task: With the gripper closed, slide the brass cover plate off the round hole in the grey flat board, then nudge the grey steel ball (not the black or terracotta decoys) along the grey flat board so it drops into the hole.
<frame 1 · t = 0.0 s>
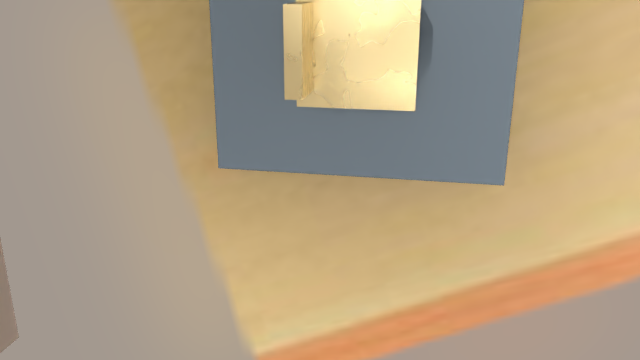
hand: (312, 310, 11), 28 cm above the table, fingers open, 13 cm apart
brass cover: (353, 50, 33), point 5 cm above the table, slide at 0.0 cm
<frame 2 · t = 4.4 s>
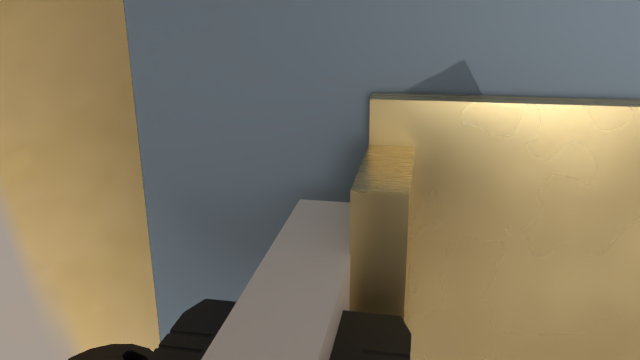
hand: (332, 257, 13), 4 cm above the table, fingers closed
brass cover: (532, 284, 12), point 5 cm above the table, slide at 0.4 cm, touching gripper
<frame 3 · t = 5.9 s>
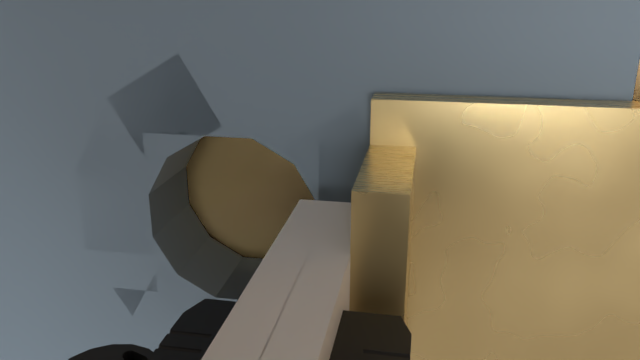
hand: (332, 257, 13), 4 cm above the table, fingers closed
brass cover: (532, 285, 12), point 5 cm above the table, slide at 7.1 cm, touching gripper
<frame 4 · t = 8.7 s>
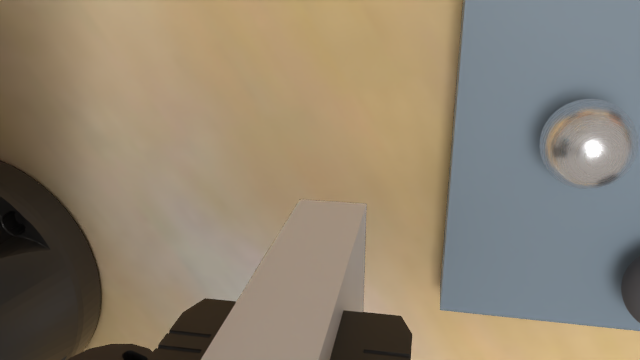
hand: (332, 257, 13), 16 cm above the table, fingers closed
steel ball: (587, 144, 23), point 4 cm above the table, touching grey flat board
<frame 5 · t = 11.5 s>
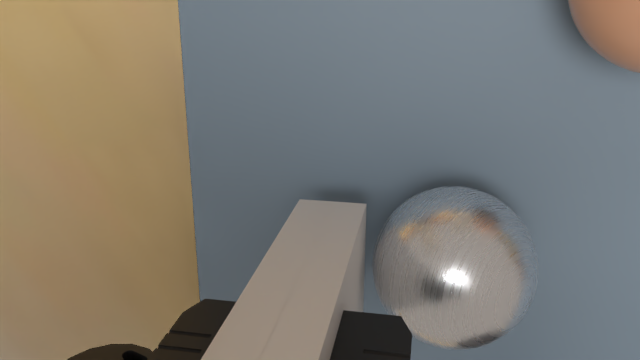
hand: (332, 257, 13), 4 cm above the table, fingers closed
steel ball: (452, 266, 13), point 4 cm above the table, tilted 50°, touching grey flat board
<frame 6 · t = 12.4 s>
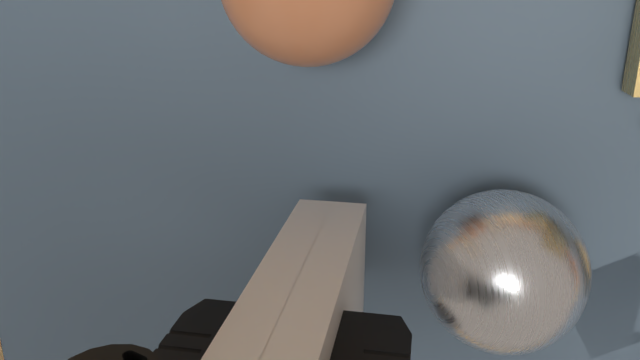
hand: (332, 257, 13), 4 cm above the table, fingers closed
grey flat board: (476, 200, 17), on the table
steel ball: (502, 270, 13), point 4 cm above the table, tilted 60°, touching grey flat board
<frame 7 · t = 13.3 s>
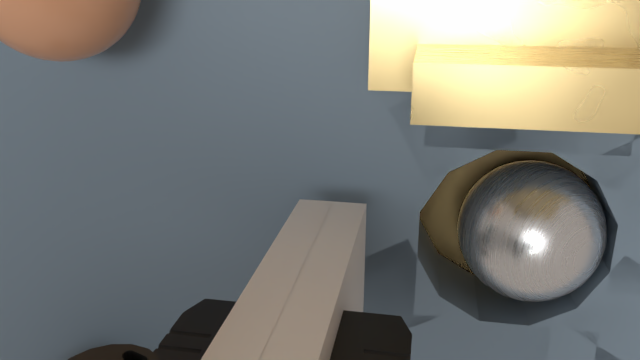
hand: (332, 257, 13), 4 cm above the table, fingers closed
grey flat board: (292, 191, 18), on the table
steel ball: (529, 230, 15), point 2 cm above the table, tilted 143°
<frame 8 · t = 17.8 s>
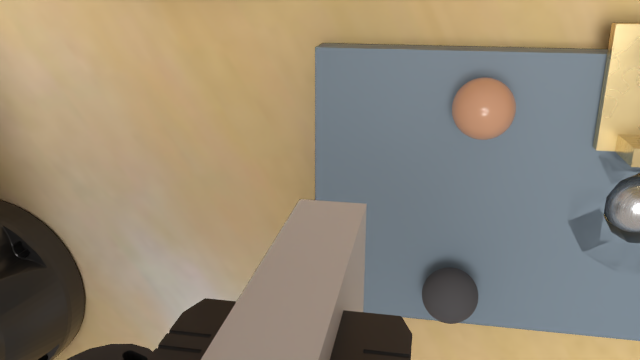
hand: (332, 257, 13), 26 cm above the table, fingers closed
black ball: (449, 295, 38), point 4 cm above the table, touching grey flat board
grey flat board: (533, 188, 39), on the table
terracotta ball: (483, 108, 34), point 4 cm above the table, touching grey flat board
steel ball: (634, 203, 36), point 2 cm above the table, tilted 171°
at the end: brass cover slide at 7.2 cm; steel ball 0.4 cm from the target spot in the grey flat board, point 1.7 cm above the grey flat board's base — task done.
